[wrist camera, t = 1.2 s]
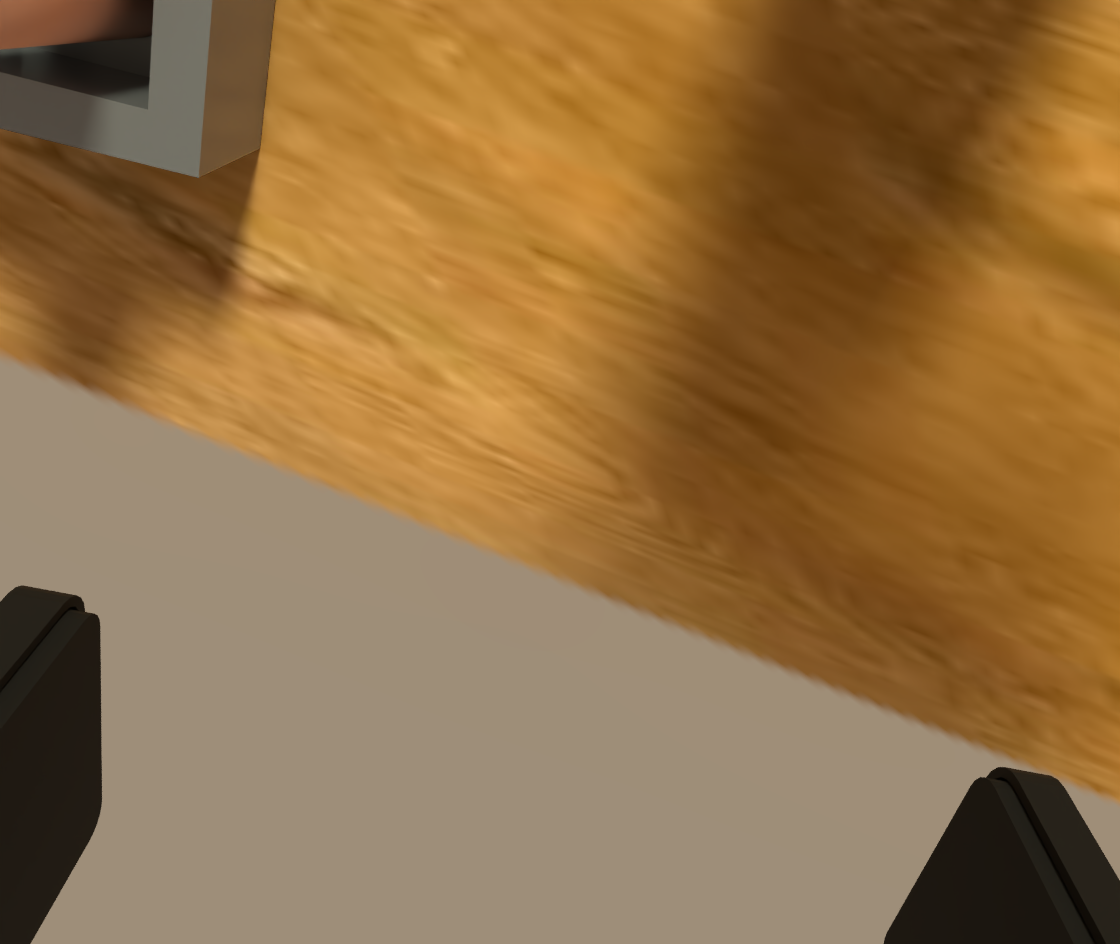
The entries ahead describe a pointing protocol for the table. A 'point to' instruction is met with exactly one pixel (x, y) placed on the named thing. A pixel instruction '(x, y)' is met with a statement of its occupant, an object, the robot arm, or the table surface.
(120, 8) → the dowel
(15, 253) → the table surface
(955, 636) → the table surface
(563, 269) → the table surface
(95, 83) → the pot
